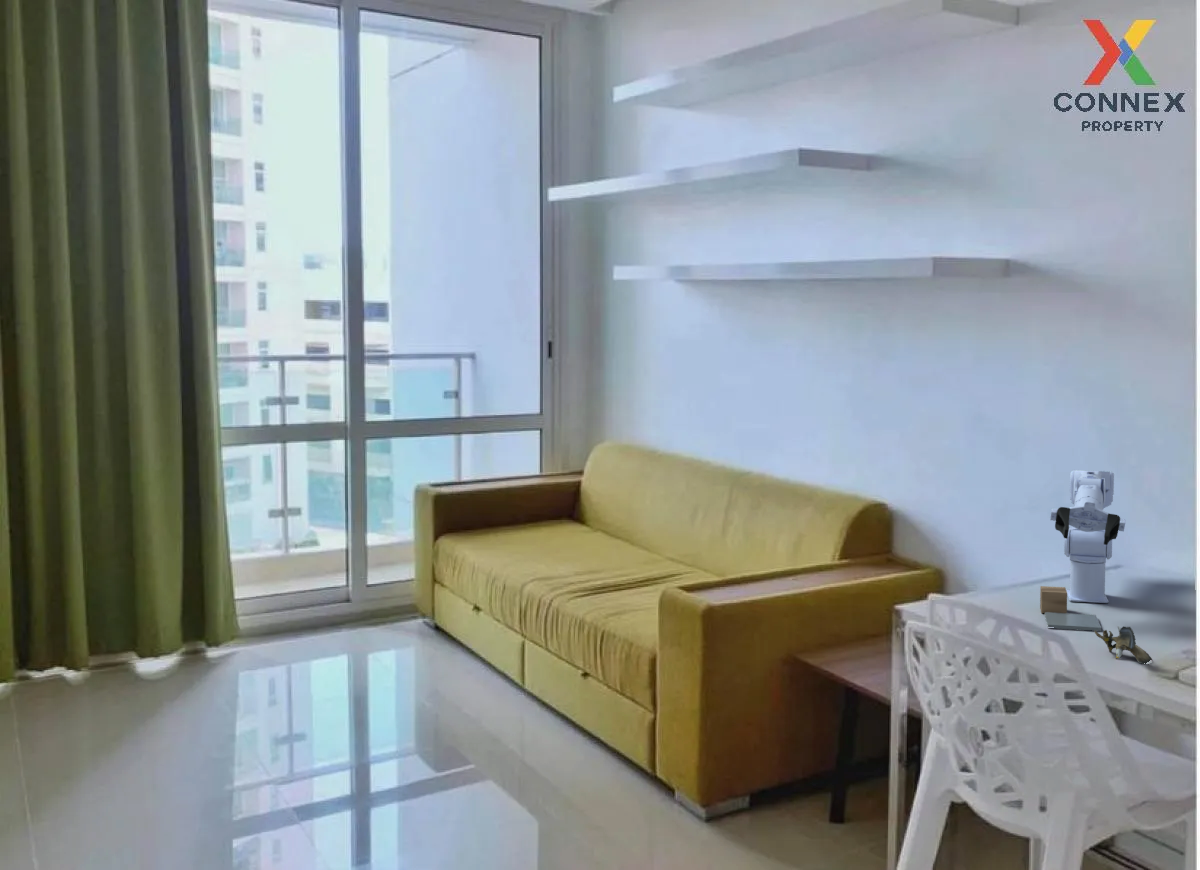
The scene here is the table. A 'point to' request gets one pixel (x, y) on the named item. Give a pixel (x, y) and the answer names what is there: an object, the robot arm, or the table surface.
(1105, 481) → the robot arm
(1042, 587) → the walnut cube
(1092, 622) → the slate coaster
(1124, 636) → the eagle figurine
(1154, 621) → the table surface
